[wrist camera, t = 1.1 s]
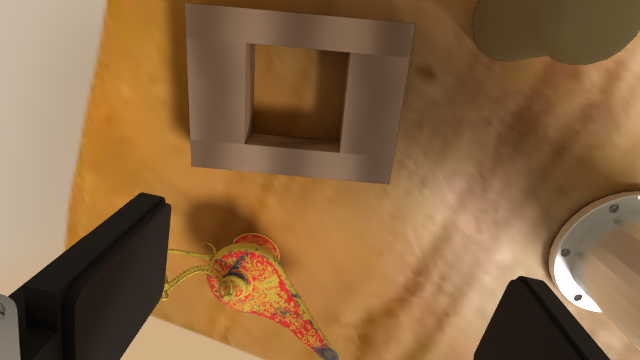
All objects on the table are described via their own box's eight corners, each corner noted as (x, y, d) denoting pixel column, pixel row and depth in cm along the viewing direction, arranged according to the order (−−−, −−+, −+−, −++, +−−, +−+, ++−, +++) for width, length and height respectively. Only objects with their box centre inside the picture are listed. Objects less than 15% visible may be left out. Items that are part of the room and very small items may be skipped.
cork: (488, -32, 28) (578, -70, 18) (566, -15, 28) (701, -43, 18) (461, 53, 30) (528, 63, 20) (534, 68, 30) (637, 86, 20)
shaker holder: (406, 24, 29) (415, 23, 26) (383, 169, 34) (389, 184, 30) (201, 6, 29) (184, 2, 26) (205, 153, 34) (191, 166, 30)
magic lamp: (318, 330, 41) (313, 430, 30) (172, 238, 37) (111, 317, 27) (359, 288, 38) (369, 382, 28) (209, 187, 35) (157, 251, 25)
